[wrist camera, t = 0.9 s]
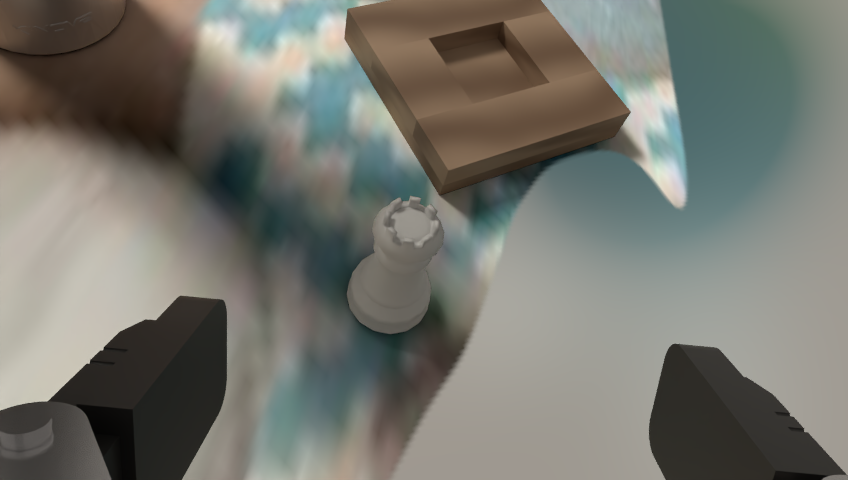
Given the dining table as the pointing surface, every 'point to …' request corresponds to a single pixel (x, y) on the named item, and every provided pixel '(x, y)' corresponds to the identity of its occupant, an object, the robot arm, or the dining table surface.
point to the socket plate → (481, 84)
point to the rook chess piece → (396, 268)
